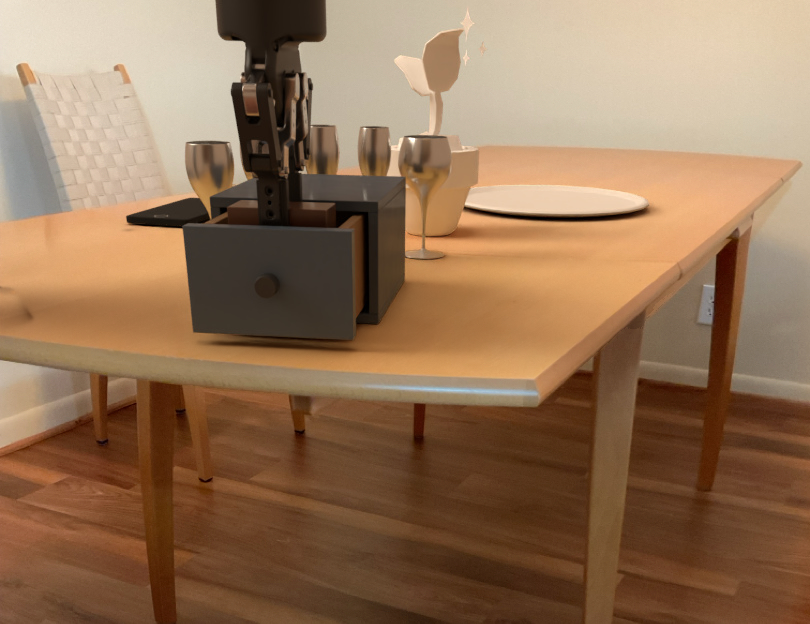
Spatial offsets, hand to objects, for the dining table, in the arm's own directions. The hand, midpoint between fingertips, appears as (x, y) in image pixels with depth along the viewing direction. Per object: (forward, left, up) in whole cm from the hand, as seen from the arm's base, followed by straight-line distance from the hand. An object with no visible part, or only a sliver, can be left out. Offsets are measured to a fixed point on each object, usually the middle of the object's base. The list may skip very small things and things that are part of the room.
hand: (281, 226), depth 70 cm
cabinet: (+4, +11, -8) cm, 14 cm away
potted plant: (+22, +43, -8) cm, 49 cm away
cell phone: (-7, +60, -8) cm, 61 cm away
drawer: (+1, +2, -7) cm, 8 cm away
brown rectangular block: (0, 0, 0) cm, 0 cm away
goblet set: (+7, +27, -8) cm, 29 cm away
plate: (+45, +62, -8) cm, 77 cm away
